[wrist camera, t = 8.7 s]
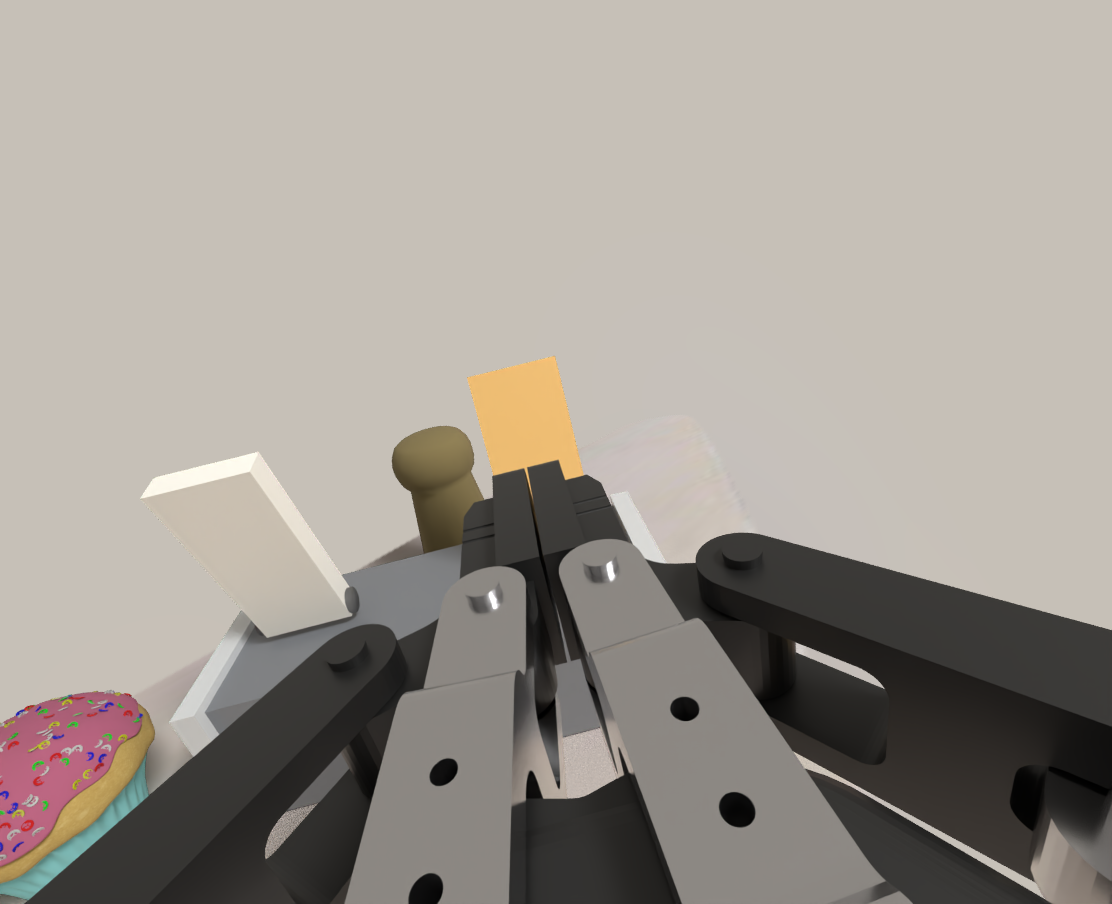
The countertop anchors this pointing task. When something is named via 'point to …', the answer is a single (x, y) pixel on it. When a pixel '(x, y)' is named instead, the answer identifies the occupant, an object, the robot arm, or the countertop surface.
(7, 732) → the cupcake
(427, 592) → the switch box
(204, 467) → the rocker switch
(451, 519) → the cork
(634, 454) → the countertop surface
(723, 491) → the countertop surface
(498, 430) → the outlet rocker
